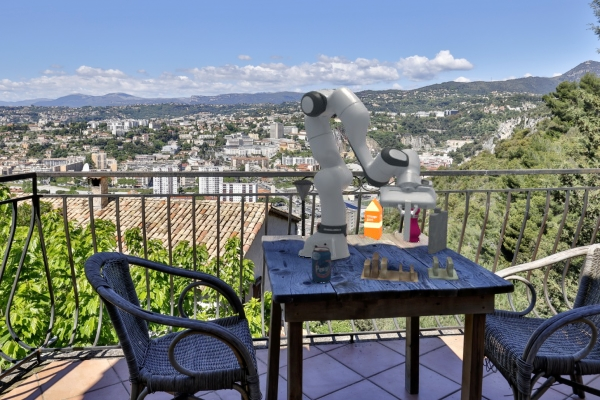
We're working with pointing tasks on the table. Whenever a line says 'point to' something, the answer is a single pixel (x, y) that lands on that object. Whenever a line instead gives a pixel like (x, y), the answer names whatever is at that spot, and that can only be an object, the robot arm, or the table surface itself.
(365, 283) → the table surface
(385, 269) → the rack
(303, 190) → the solar garden light
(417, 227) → the pepper mill
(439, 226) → the hip flask
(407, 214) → the light grey flat bar
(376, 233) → the orange juice
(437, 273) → the stand
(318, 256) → the soda can
